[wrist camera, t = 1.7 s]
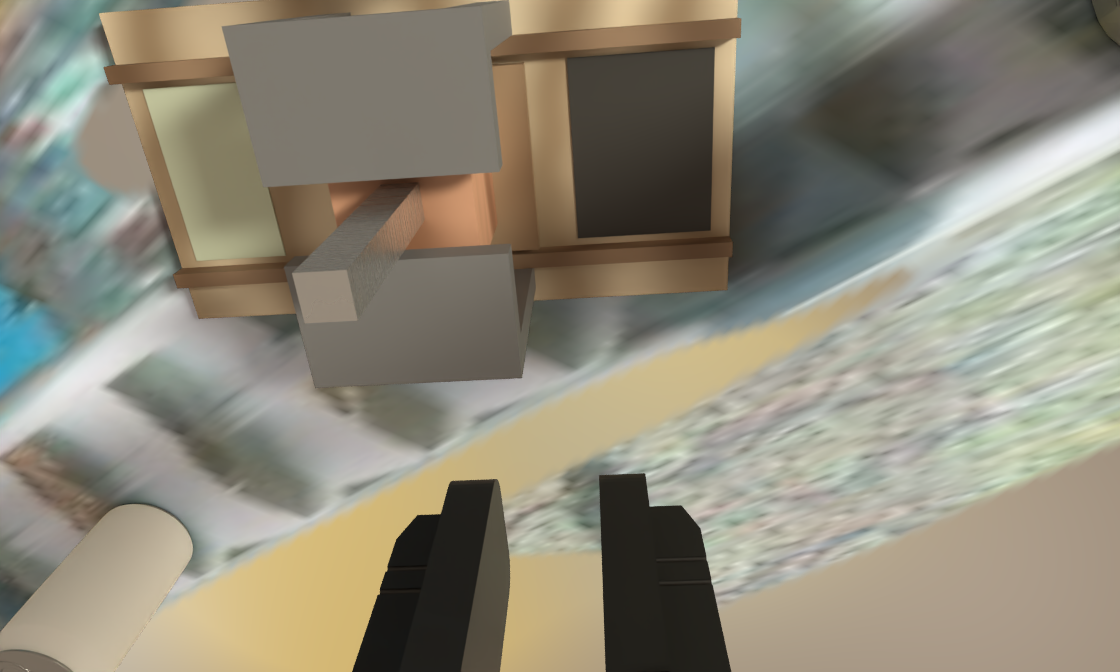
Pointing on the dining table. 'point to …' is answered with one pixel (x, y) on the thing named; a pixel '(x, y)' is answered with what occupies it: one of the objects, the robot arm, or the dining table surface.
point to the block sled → (424, 215)
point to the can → (99, 595)
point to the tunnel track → (434, 158)
